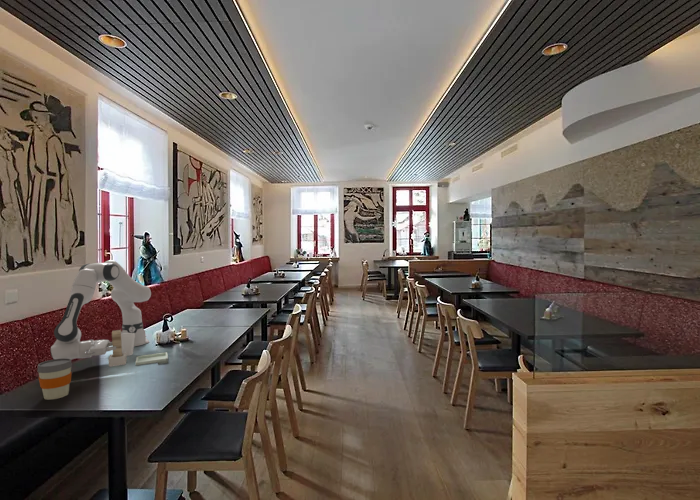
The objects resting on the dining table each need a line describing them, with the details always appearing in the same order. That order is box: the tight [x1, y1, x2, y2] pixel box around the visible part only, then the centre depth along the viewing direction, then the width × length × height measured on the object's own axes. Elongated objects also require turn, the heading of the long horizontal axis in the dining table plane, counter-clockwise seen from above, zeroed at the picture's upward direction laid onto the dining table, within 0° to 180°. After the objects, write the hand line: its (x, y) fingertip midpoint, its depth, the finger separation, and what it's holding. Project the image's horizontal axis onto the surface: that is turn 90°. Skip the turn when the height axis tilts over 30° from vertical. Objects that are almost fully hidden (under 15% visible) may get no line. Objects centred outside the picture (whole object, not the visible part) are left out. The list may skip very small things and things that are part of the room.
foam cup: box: [121, 333, 135, 357], centre depth 246 cm, size 10×9×13 cm
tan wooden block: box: [111, 329, 122, 357], centre depth 229 cm, size 4×4×18 cm
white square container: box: [107, 353, 128, 367], centre depth 229 cm, size 8×8×6 cm
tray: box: [135, 351, 169, 366], centre depth 234 cm, size 14×16×2 cm
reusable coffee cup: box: [36, 358, 73, 400], centre depth 185 cm, size 13×13×15 cm
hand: (117, 345), depth 229 cm, fingers open, 8 cm apart
